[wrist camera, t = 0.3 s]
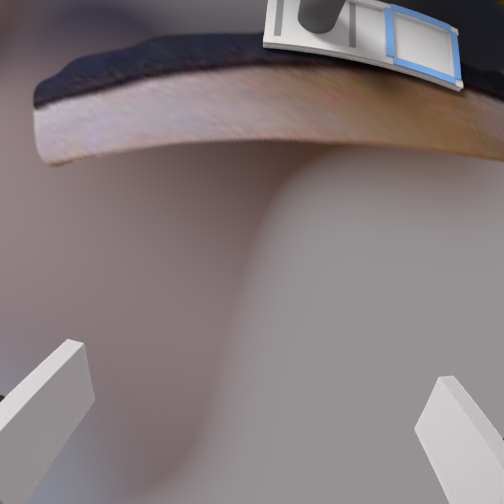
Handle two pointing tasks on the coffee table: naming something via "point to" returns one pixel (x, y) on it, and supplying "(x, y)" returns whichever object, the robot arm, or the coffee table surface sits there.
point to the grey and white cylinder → (319, 14)
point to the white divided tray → (373, 38)
